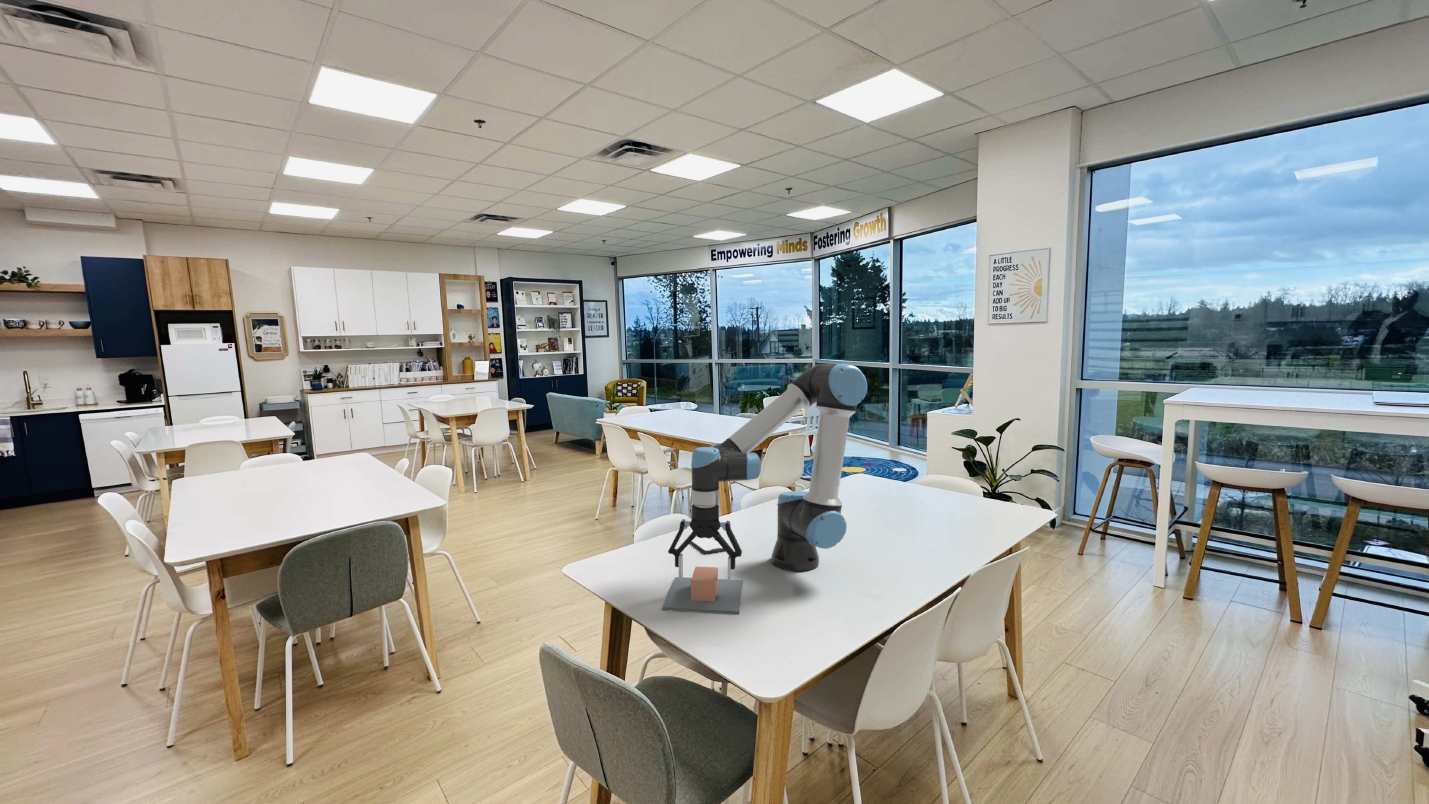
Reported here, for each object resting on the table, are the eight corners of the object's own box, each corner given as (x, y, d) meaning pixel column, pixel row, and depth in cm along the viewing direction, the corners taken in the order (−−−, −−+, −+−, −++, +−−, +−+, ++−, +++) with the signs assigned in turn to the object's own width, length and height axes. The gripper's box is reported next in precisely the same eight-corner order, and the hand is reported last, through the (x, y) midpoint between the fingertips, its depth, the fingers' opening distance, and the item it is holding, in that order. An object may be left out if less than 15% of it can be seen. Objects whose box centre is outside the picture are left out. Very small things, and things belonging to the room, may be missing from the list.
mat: (742, 582, 163) (742, 580, 163) (738, 614, 144) (738, 611, 144) (675, 579, 165) (675, 577, 165) (662, 610, 146) (662, 607, 146)
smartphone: (686, 542, 200) (704, 556, 186) (686, 538, 200) (704, 551, 186) (708, 539, 204) (728, 552, 190) (708, 534, 204) (728, 547, 190)
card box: (714, 601, 149) (714, 581, 149) (690, 600, 150) (690, 580, 149) (718, 586, 159) (718, 567, 159) (695, 585, 160) (695, 566, 159)
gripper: (751, 501, 155) (750, 575, 157) (663, 499, 157) (663, 571, 159) (750, 509, 147) (749, 586, 149) (657, 506, 150) (657, 582, 152)
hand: (704, 579), depth 154 cm, fingers open, 13 cm apart
